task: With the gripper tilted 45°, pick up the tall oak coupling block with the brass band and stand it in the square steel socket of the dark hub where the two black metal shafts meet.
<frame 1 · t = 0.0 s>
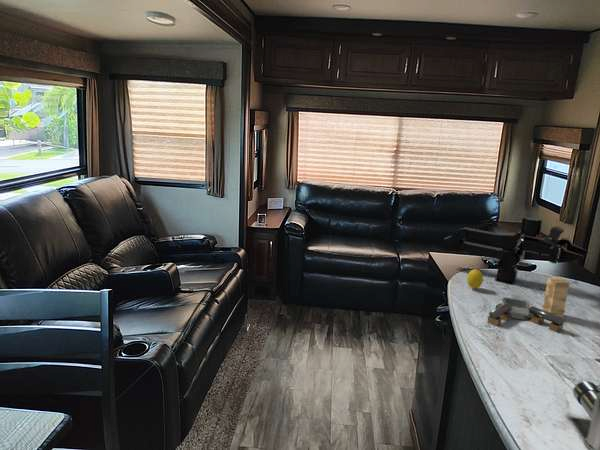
hand: (585, 254, 161), 17 cm above the countertop, tool horizontal, fingers open, 9 cm apart
shaft b: (499, 320, 144), on the countertop
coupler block: (552, 315, 149), on the countertop
lemon: (473, 289, 170), on the countertop
shaft a: (544, 325, 141), on the countertop
shaft hub: (514, 312, 150), on the countertop
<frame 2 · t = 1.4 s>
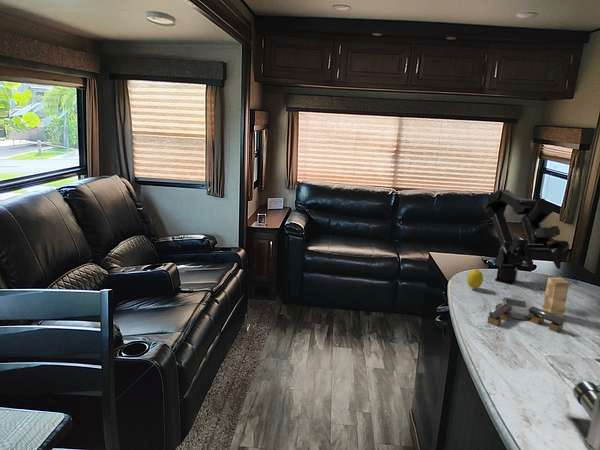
hand: (546, 268, 153), 14 cm above the countertop, tool tilted 45°, fingers open, 9 cm apart
nothing on the countertop moved.
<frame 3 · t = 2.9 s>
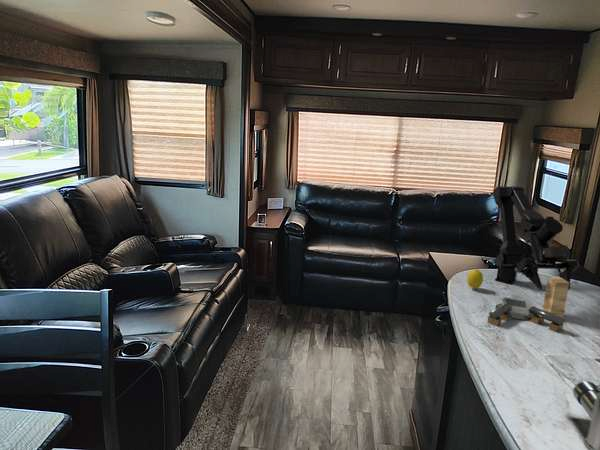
hand: (554, 289, 148), 9 cm above the countertop, tool tilted 45°, fingers open, 9 cm apart
nothing on the countertop moved.
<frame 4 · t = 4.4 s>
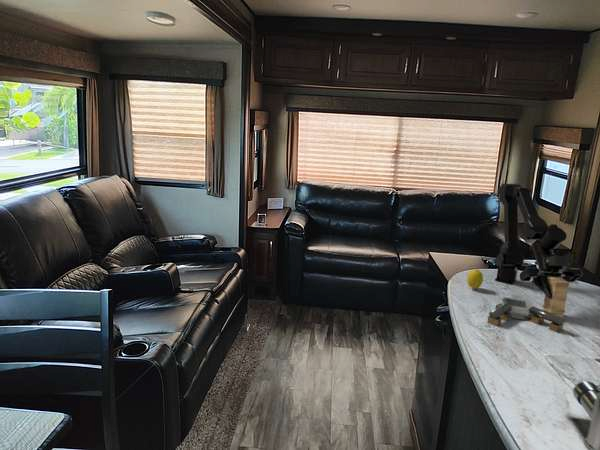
hand: (558, 298, 146), 7 cm above the countertop, tool tilted 45°, fingers closed on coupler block, 4 cm apart
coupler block: (552, 315, 149), on the countertop, touching gripper
everything else where it was.
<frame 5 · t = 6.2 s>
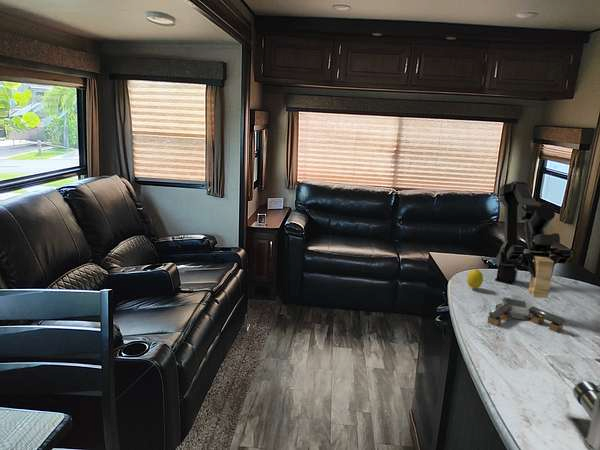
hand: (542, 277, 144), 13 cm above the countertop, tool tilted 45°, fingers closed on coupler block, 4 cm apart
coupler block: (537, 295, 147), point 7 cm above the countertop, touching gripper
everything else where it was.
when the fingers open (9 cm above the countertop, at t = 8.2 s): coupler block drops 1 cm, resting on shaft hub.
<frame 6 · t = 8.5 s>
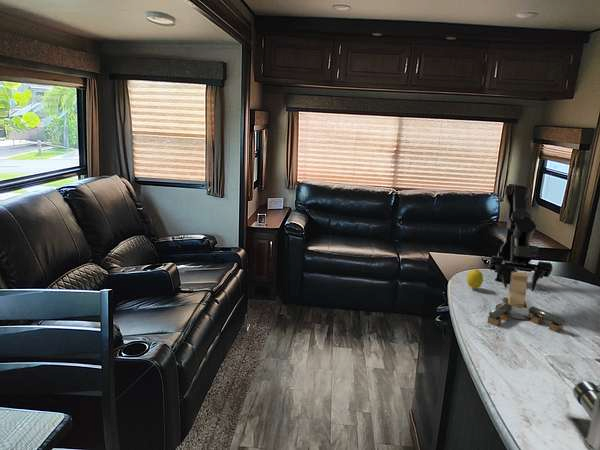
hand: (519, 288, 147), 9 cm above the countertop, tool tilted 45°, fingers open, 8 cm apart
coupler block: (515, 309, 150), point 1 cm above the countertop, touching shaft hub
everything else where it was.
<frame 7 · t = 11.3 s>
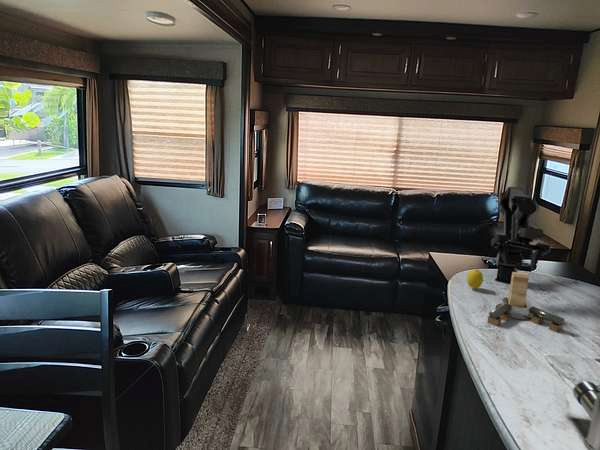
hand: (519, 267, 156), 13 cm above the countertop, tool tilted 35°, fingers open, 9 cm apart
nothing on the countertop moved.
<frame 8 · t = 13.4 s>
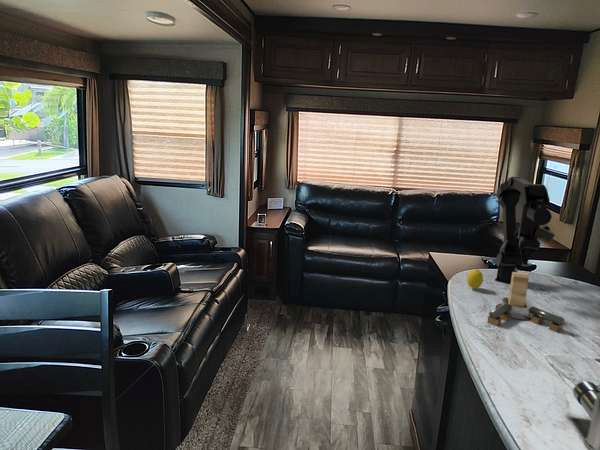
hand: (523, 260, 164), 13 cm above the countertop, tool pointing down, fingers open, 9 cm apart
nothing on the countertop moved.
at the end: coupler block 0.1 cm off-centre on the shaft hub, point 0.8 cm above the shaft hub's base; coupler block tilted 0°; the gripper is holding nothing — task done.
